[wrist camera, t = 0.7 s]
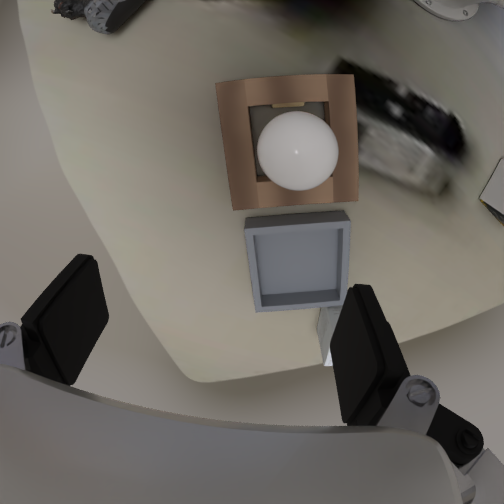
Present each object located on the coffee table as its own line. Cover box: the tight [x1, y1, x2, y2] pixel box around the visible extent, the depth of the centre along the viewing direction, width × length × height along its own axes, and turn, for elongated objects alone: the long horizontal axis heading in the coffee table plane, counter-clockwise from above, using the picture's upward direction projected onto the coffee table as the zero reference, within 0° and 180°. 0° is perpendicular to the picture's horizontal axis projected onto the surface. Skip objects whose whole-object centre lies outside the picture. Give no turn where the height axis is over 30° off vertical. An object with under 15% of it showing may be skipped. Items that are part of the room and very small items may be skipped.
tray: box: [244, 210, 351, 312], centre depth 35 cm, size 11×11×3 cm
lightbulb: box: [257, 111, 339, 191], centre depth 24 cm, size 6×6×11 cm
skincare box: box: [317, 305, 343, 366], centre depth 37 cm, size 6×6×7 cm
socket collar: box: [215, 74, 359, 210], centre depth 28 cm, size 13×13×2 cm
